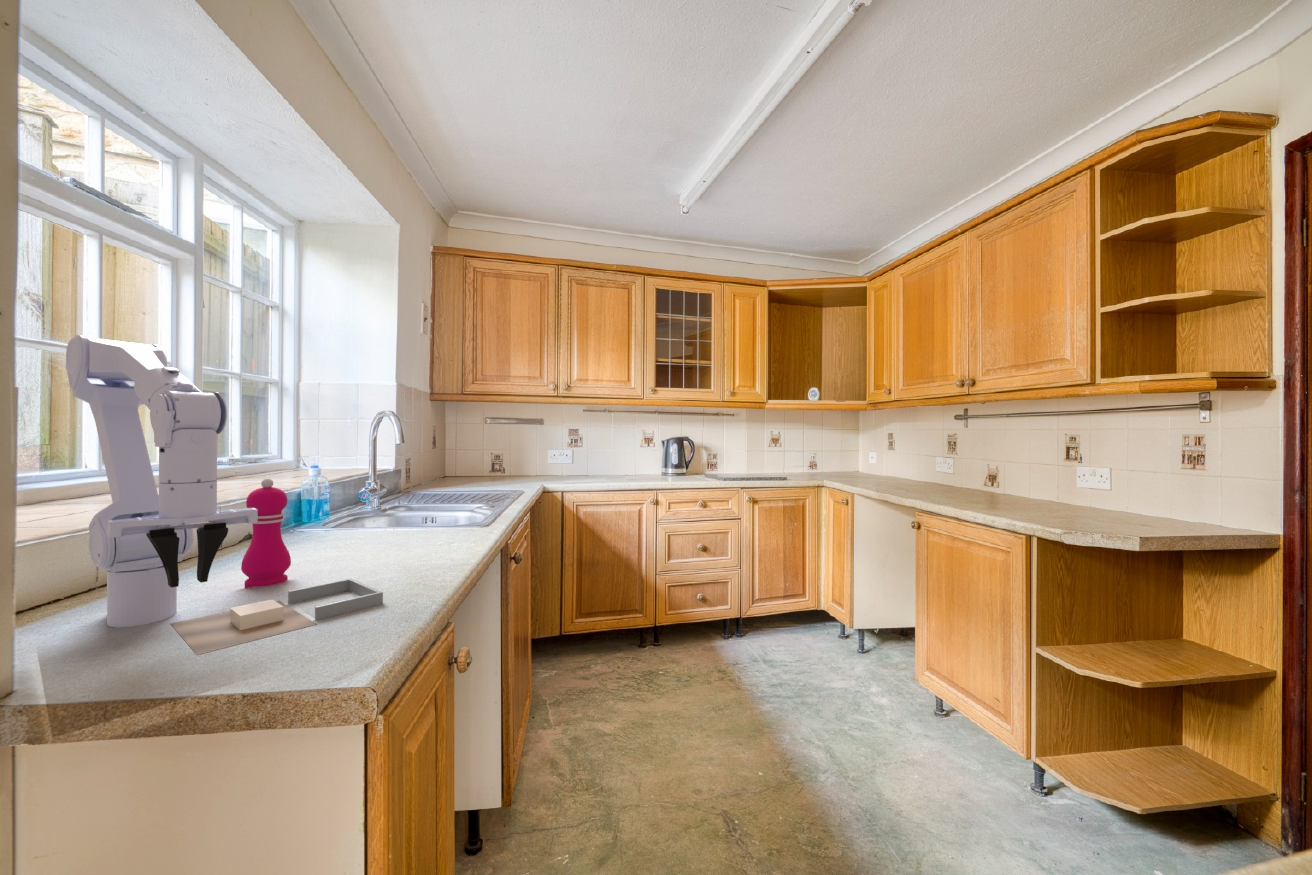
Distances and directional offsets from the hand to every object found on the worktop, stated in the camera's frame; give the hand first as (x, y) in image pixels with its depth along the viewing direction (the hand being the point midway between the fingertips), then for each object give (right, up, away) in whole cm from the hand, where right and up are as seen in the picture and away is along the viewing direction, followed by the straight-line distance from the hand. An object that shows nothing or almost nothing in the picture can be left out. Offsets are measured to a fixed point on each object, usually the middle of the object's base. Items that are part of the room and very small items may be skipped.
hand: (188, 583), depth 68 cm
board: (+4, -8, +5) cm, 10 cm away
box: (+11, -8, +14) cm, 19 cm away
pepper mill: (-9, -8, +25) cm, 28 cm away
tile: (+4, -7, +6) cm, 10 cm away
